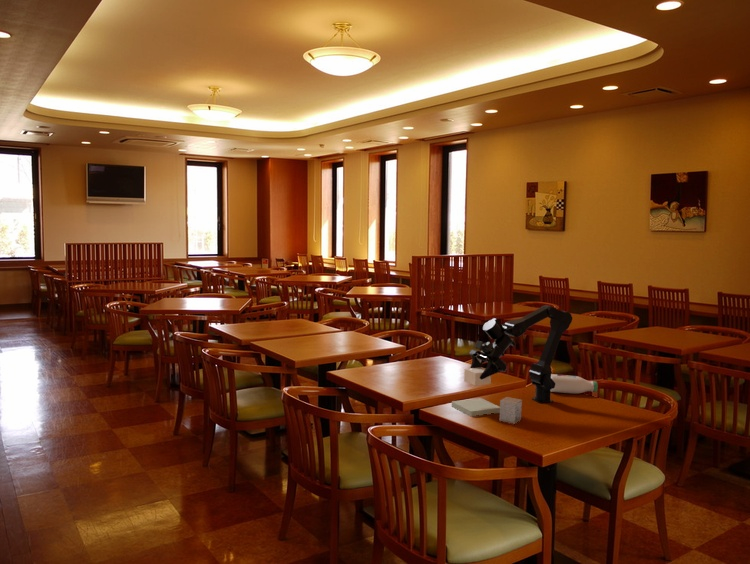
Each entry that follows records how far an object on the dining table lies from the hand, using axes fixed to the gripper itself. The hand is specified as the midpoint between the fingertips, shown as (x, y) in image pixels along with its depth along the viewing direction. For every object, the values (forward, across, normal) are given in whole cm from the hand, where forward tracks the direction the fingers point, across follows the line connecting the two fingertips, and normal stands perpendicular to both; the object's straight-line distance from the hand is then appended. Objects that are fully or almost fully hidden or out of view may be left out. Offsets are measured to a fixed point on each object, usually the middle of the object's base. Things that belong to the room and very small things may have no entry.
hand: (474, 376), depth 240 cm
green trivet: (+9, 0, +10) cm, 14 cm away
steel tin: (+6, +16, +13) cm, 22 cm away
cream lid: (+1, 0, +3) cm, 3 cm away
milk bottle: (-27, -10, +40) cm, 49 cm away
